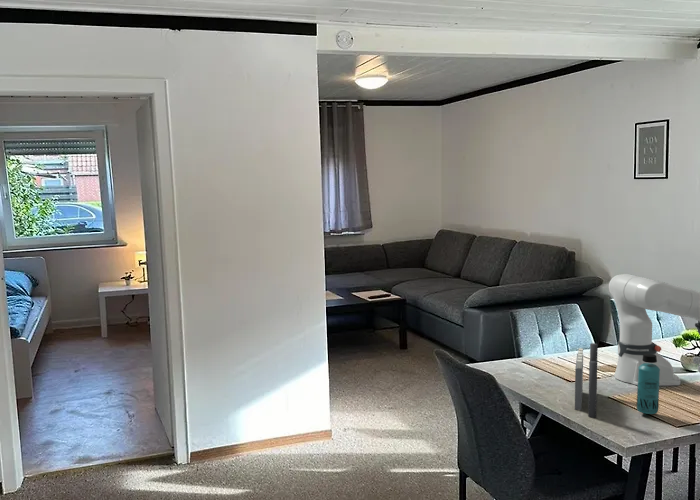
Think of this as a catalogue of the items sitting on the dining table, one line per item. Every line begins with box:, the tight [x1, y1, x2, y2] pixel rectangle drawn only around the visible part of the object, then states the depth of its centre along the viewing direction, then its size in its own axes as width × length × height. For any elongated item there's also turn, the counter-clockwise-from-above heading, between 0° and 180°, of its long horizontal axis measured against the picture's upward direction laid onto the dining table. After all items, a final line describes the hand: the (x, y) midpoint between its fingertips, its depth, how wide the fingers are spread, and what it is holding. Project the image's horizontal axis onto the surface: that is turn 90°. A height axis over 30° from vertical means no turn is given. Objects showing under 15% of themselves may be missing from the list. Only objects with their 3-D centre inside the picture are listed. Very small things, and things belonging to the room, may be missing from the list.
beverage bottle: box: [636, 354, 660, 415], centre depth 200 cm, size 6×7×20 cm
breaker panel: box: [574, 347, 584, 411], centre depth 214 cm, size 2×18×16 cm, turn 158°
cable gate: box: [587, 342, 599, 419], centre depth 210 cm, size 2×24×18 cm, turn 158°
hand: (695, 364), depth 194 cm, fingers open, 8 cm apart
